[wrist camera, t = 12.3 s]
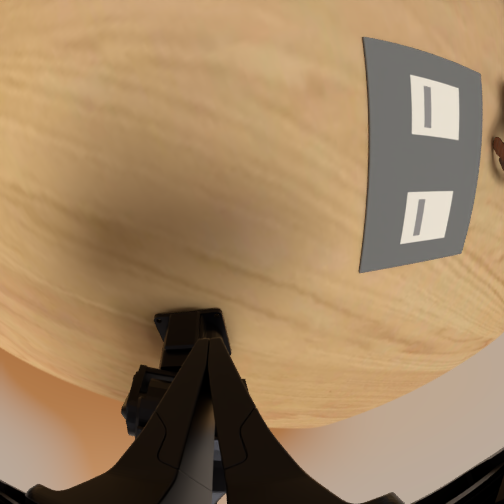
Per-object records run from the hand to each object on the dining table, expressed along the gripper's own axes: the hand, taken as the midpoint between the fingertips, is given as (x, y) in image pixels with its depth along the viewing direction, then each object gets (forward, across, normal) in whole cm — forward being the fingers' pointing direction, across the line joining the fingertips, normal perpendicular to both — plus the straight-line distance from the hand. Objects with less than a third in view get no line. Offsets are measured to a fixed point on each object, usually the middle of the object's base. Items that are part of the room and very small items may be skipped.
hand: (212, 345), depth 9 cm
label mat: (+12, -19, -4) cm, 22 cm away
